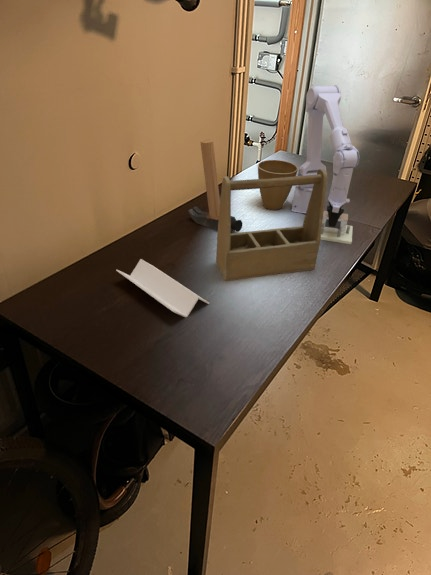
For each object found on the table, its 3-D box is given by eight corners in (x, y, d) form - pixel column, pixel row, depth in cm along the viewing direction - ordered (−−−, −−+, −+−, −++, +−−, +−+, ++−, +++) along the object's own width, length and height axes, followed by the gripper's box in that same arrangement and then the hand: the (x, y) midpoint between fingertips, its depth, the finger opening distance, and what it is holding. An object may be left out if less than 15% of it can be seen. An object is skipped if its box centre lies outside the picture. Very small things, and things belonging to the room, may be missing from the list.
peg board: (306, 237, 149) (308, 228, 147) (310, 222, 158) (312, 213, 156) (351, 244, 146) (353, 235, 144) (352, 228, 155) (354, 219, 153)
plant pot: (292, 215, 162) (298, 175, 152) (252, 212, 163) (256, 171, 154) (291, 199, 174) (297, 160, 164) (255, 196, 175) (258, 157, 166)
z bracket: (142, 283, 131) (153, 265, 131) (198, 322, 117) (210, 303, 117) (116, 270, 121) (127, 251, 121) (173, 312, 107) (186, 290, 107)
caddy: (224, 282, 125) (230, 184, 108) (215, 262, 134) (218, 169, 116) (315, 270, 132) (334, 176, 114) (300, 252, 140) (316, 163, 123)
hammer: (190, 226, 157) (177, 141, 142) (198, 221, 160) (187, 138, 146) (234, 234, 145) (226, 143, 131) (243, 229, 149) (235, 139, 134)
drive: (317, 231, 150) (320, 215, 147) (319, 225, 154) (322, 210, 150) (344, 235, 148) (347, 219, 145) (344, 229, 152) (348, 214, 149)
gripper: (352, 196, 135) (343, 234, 143) (353, 179, 146) (344, 215, 154) (329, 193, 136) (321, 230, 144) (332, 177, 148) (324, 212, 156)
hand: (332, 222), depth 149 cm, fingers closed on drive, 5 cm apart
